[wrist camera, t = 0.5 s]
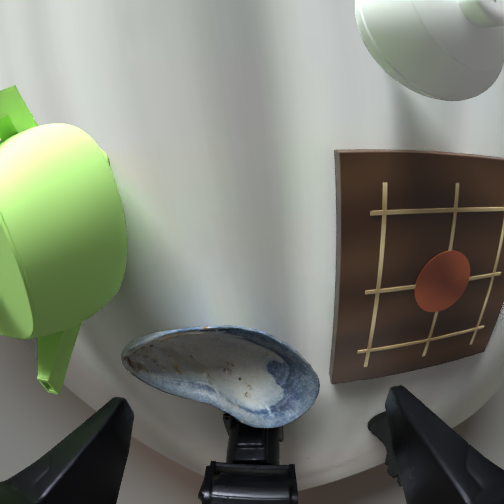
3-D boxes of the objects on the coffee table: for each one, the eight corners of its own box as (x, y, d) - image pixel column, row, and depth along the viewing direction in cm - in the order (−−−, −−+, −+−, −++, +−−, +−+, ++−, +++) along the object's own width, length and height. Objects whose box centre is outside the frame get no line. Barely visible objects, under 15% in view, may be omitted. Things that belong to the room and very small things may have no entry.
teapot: (168, 317, 24) (115, 443, 13) (52, 310, 25) (-15, 394, 14) (130, 66, 16) (-7, 33, 5) (6, 113, 17) (-106, 139, 5)
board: (478, 343, 25) (484, 352, 23) (329, 373, 26) (331, 385, 25) (519, 160, 17) (530, 164, 15) (334, 149, 18) (339, 152, 17)
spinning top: (446, 77, 15) (572, 71, 4) (371, 123, 17) (492, 138, 6) (385, -9, 13) (474, -83, 2) (302, 31, 15) (346, -70, 4)
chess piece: (393, 405, 29) (414, 475, 20) (404, 417, 30) (424, 480, 21) (361, 422, 30) (376, 491, 21) (375, 432, 31) (389, 495, 22)
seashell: (172, 398, 29) (162, 433, 25) (131, 305, 24) (108, 342, 19) (315, 393, 28) (320, 432, 23) (315, 291, 23) (326, 333, 18)
